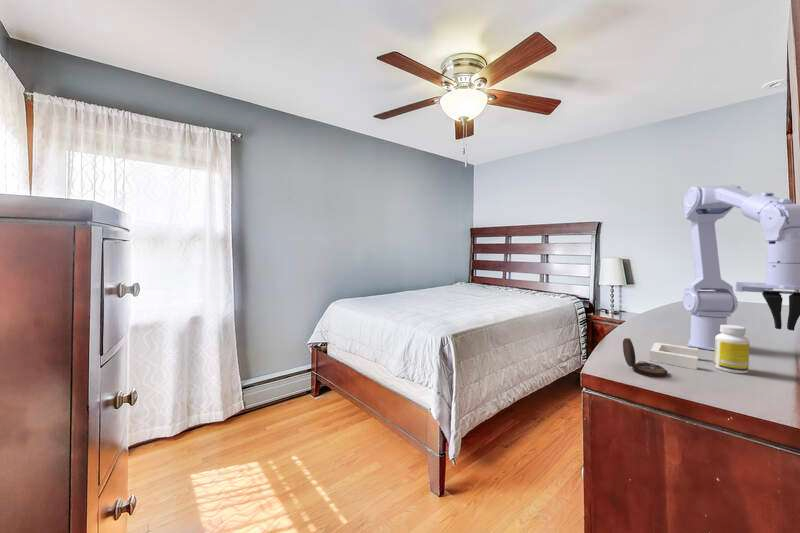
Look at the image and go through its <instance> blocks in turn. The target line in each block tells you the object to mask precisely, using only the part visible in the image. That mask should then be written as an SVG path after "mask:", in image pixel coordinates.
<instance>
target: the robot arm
mask: <svg viewBox="0 0 800 533" xmlns="http://www.w3.org/2000/svg"><path fill="white" fill-rule="evenodd" d="M774 195H775V193H774V192H773V191H772V192H771V191H763V192H761V193H760V192H759V193H755V194H752V193H750V192H748V191H745V190H743V189H742V188H741V186H740V185H735V184H728V185H714V186H712V185H711V186H710V185H709V186H707V185H706V186H696V185H695V186H691V187H690V188H689V189H688V190H687V191H686V192H685V196H684V198H683V209H684V210H683V211H684V217H685V219H687V220H688V221H689V227H690V237H691V238H690V239H691V247H692V259H693V266H694V267H693V268H694V276H695V277H694V278H695V279H694V280H693V281H691V282H690V283H687V284H686V285H685V286H684V288H683V289H684V290H683V293H684V294H683V297H682V304H683V307H684V309H685V310H686V311H687V313H688V314H690V338H688V342H687V347H690V348H697V349H702V350H709V351H715V337H716V335H718V334H721V331H720V325H728V317H729V318H731V317H732V316H731V314H733V313H735V312H736V310H737V309H738V307H739V306H738V302H739V301H738V298H737V296H736V295H735V294H736V293H735V292H740V293H742V292H745V293H746V292H749V293H761V295H762V297H763V298H764V300H765V302H766V304H767V306H768V308H769V310H770V312H771V314H772V318H773V322H774V328H775V329H776V330H782V326H783V325H782V306H783V297H782V295H784V294H785V295H786V294H787V295H788V316H787V322H786V323H787V325H786V327H787V328H786V329H787V330H788V331H795V328H796V325H797V322H798V320H799V318H800V203H795V202H792V199H790V198H784V197H783V198H780V197H777V196H774ZM734 208H737V209H740V212H741V214H742V215H743V216H744V217H745V218H748V219H750V220H752V221H754V222H757V223H759V224H760V227H761V229H762V230H763V239H764V240H765V241H766V242H767V251H766V252H767V253H766V267H765V268H766V272H765V275H766V276H765V282H744V281H742V282H740V281H736V282H735V291H734V286H732V285H731V284H730V283H728V282H727V281H725V280H724V279H722V275H721V269H720V259H719V251H718V243H717V242H718V241H717V232H716V225H715V224H716V222H717V221H718V220H721V219H724V217H725V216H727V215H728V214H729V213H730V212H731V211H732V209H734ZM787 290H789V291H787Z"/></svg>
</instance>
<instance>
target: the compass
mask: <svg viewBox="0 0 800 533" xmlns="http://www.w3.org/2000/svg"><path fill="white" fill-rule="evenodd" d="M622 352H623V356H624V360H625V362H626V364H627V365H628V367H630V368H632V370H633V371H634V372H636V373H638V374H641V375H643V376H648V377H655V378H656V377H657V378H661V377H666V376H668V370H667V369H665V368H664V367H663V366H661V365H659V364H655V363H653V362H652V363H651V362H647V361H642V360H638V362H636V353H635V352H636V350H635V348H634V345H633V341H632V339H631V338H628V337H625V338H623V340H622Z"/></svg>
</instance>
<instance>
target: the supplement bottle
mask: <svg viewBox="0 0 800 533" xmlns="http://www.w3.org/2000/svg"><path fill="white" fill-rule="evenodd" d="M720 331H721V334H718V335H716V337H715V350H714V356H713V357H714V360H713V361H714V362H713V364H714V365H713V366H714V367H715V368H716V369H717V370H721V371H724V372H727V373H731V374H747V373H748V372H749V366H750V365H749V364H750V363H749V362H750V340H749V338H747V337H746V336H744V335H746V334H747V333H746V327H745V326H740V325H735V324H727V325H720Z"/></svg>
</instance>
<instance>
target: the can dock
mask: <svg viewBox="0 0 800 533" xmlns="http://www.w3.org/2000/svg"><path fill="white" fill-rule="evenodd" d="M699 349H700V348H695V347H689V346H684V345H683V346H682V345H676V344H669V343H662V342H654V343H653V345H652V346H651V348H650V350H649V362H652V363H653V362H654V363H660V364H666V365H670V366H675V367H681V368H685V369H686V368H687V369H692V370H697V369H698V361H699V351H700V350H699Z"/></svg>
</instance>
